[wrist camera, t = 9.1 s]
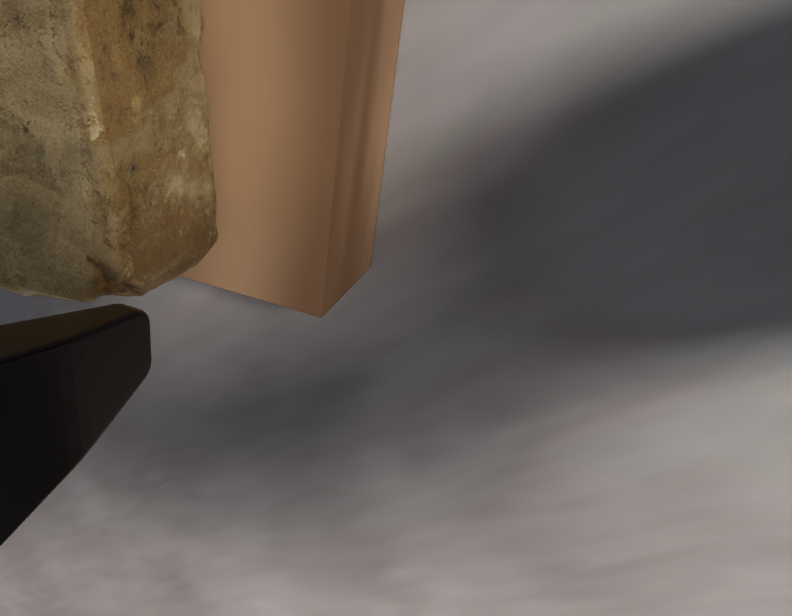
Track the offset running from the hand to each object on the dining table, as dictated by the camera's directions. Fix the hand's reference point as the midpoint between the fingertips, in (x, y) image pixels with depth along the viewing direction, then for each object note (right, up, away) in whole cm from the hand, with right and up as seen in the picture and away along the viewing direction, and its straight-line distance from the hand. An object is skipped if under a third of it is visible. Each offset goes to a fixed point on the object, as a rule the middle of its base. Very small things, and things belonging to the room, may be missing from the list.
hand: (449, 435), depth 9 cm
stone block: (-8, +9, +10) cm, 15 cm away
